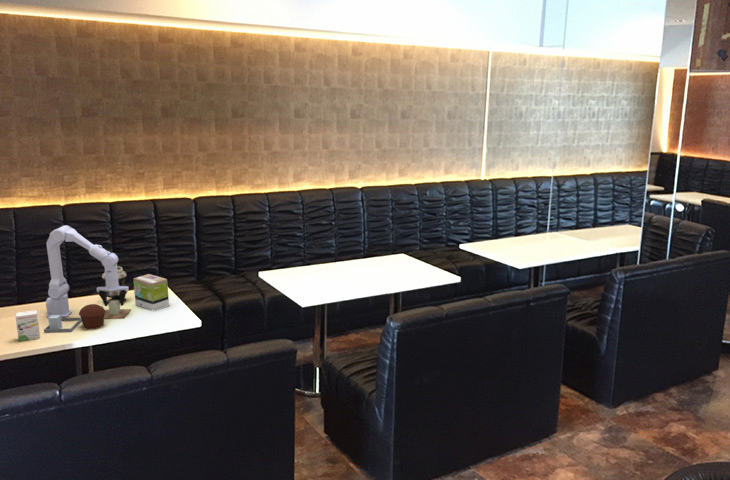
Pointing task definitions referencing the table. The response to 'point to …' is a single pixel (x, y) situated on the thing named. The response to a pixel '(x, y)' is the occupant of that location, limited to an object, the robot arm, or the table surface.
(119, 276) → the apothecary jar
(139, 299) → the tea box
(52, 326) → the blue block
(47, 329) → the parts tray
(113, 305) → the sage block
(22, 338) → the ink box
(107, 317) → the walnut board
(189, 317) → the table surface
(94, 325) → the muffin
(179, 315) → the table surface
